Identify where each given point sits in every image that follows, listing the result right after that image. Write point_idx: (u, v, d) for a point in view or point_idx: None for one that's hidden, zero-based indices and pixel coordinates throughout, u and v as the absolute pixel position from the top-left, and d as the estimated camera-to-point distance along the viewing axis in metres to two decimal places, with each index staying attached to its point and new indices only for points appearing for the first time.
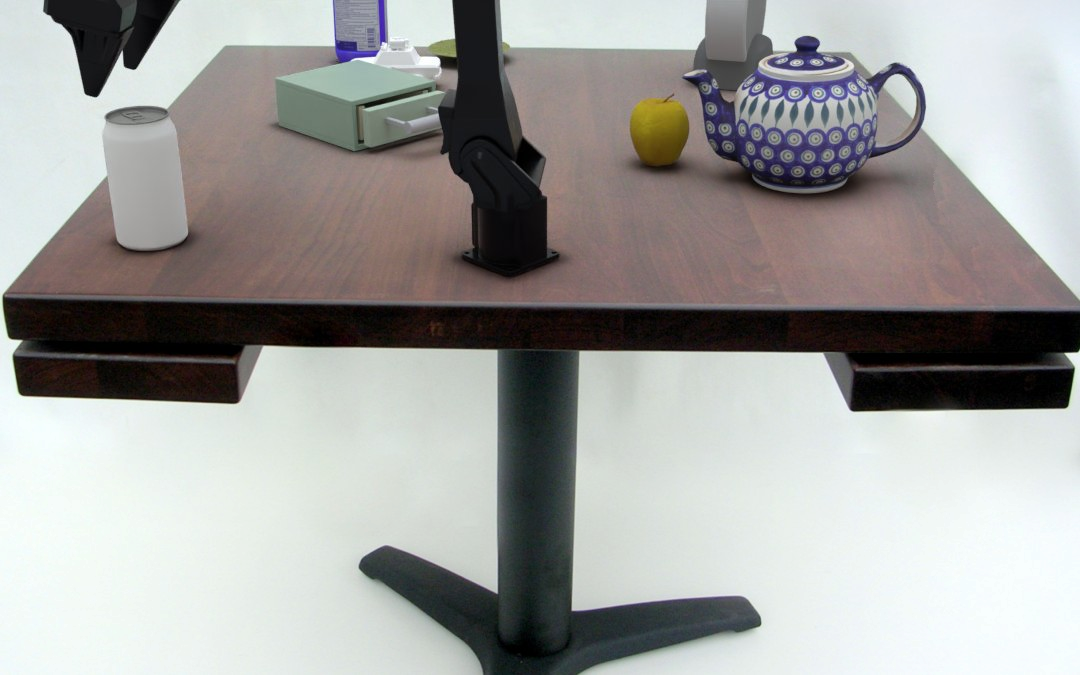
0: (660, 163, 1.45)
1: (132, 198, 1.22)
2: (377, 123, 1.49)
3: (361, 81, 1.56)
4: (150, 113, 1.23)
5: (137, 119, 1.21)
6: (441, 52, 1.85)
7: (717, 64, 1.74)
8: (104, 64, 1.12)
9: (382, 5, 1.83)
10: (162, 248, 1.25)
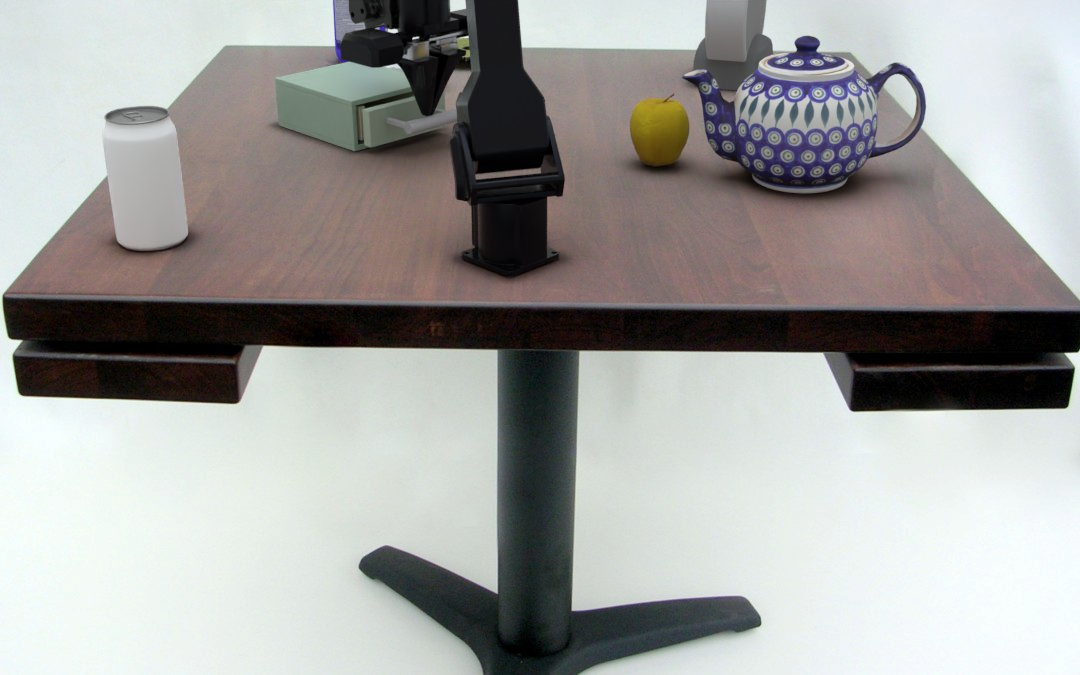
0: (660, 163, 1.45)
1: (132, 198, 1.22)
2: (377, 123, 1.49)
3: (361, 81, 1.56)
4: (150, 113, 1.23)
5: (137, 119, 1.21)
6: None
7: (717, 64, 1.74)
8: (423, 89, 1.47)
9: None
10: (162, 248, 1.25)
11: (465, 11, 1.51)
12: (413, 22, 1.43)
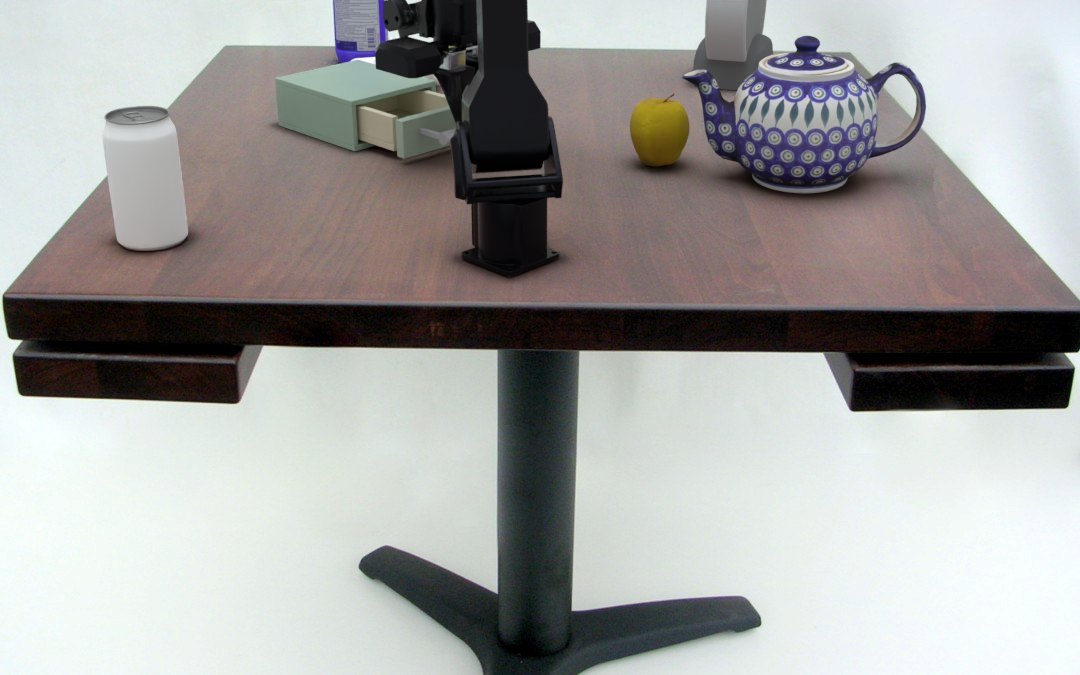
0: (660, 163, 1.45)
1: (132, 198, 1.22)
2: (410, 133, 1.46)
3: (361, 81, 1.56)
4: (150, 113, 1.23)
5: (137, 119, 1.21)
6: None
7: (717, 64, 1.74)
8: (459, 99, 1.43)
9: (382, 5, 1.83)
10: (162, 248, 1.25)
11: None
12: (449, 31, 1.39)
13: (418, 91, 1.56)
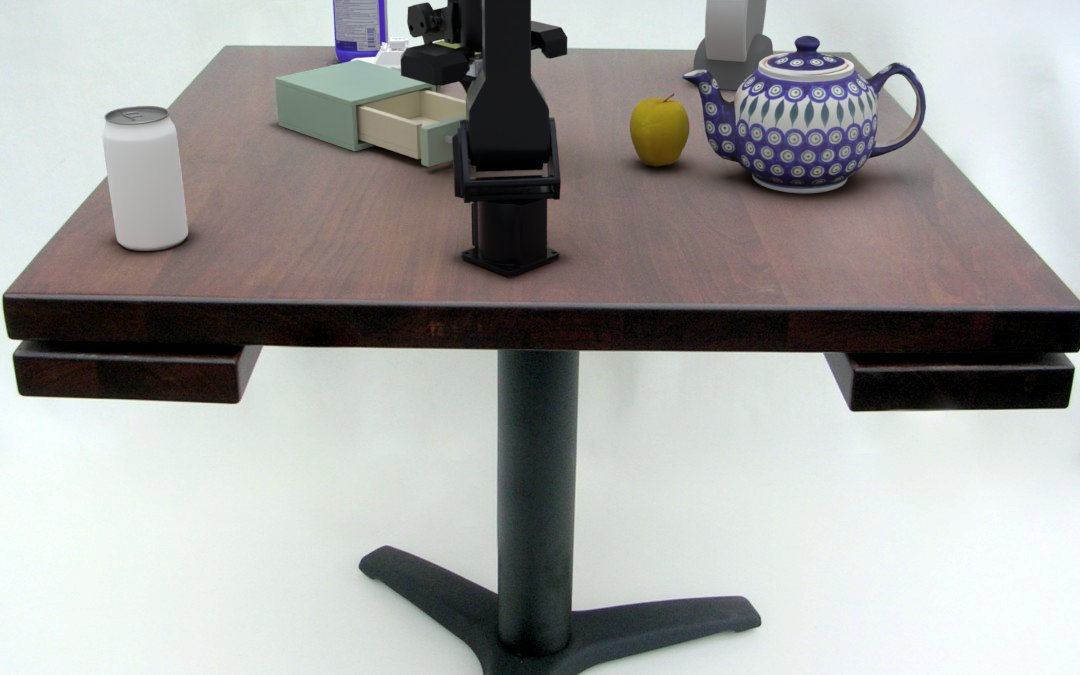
0: (660, 163, 1.45)
1: (132, 198, 1.22)
2: (435, 141, 1.43)
3: (361, 81, 1.56)
4: (150, 113, 1.23)
5: (137, 119, 1.21)
6: None
7: (717, 64, 1.74)
8: None
9: (382, 5, 1.83)
10: (162, 248, 1.25)
11: None
12: (476, 37, 1.37)
13: (441, 98, 1.54)
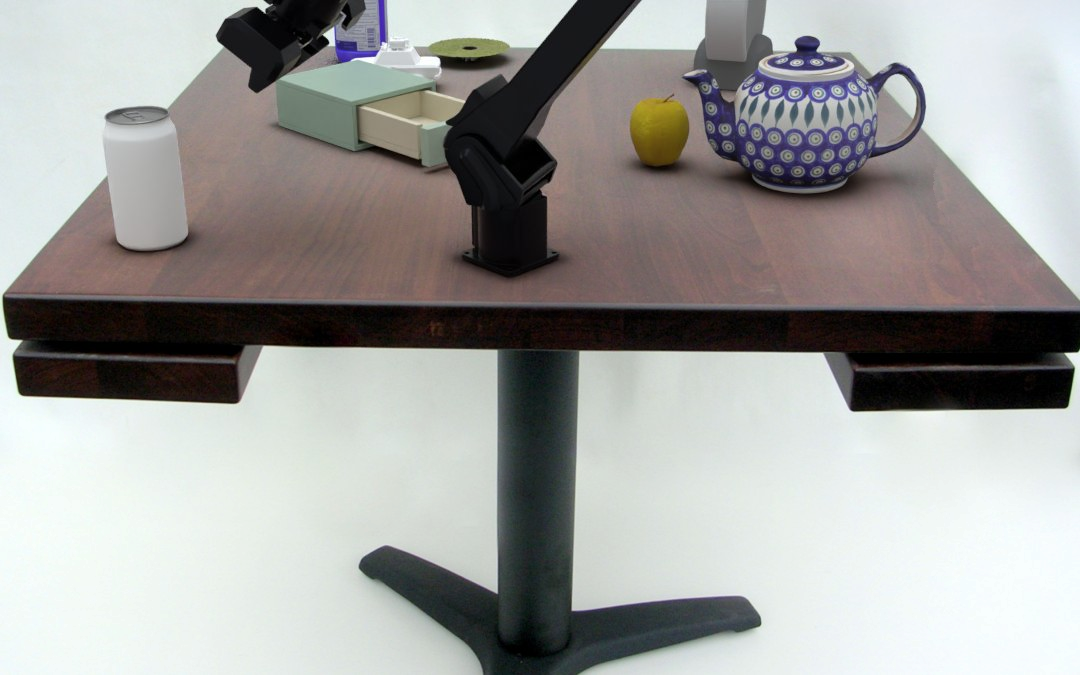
0: (660, 163, 1.45)
1: (132, 198, 1.22)
2: (436, 141, 1.43)
3: (361, 81, 1.56)
4: (150, 113, 1.23)
5: (137, 119, 1.21)
6: (441, 52, 1.85)
7: (717, 64, 1.74)
8: None
9: (382, 5, 1.83)
10: (162, 248, 1.25)
11: None
12: (307, 17, 1.18)
13: (442, 98, 1.54)
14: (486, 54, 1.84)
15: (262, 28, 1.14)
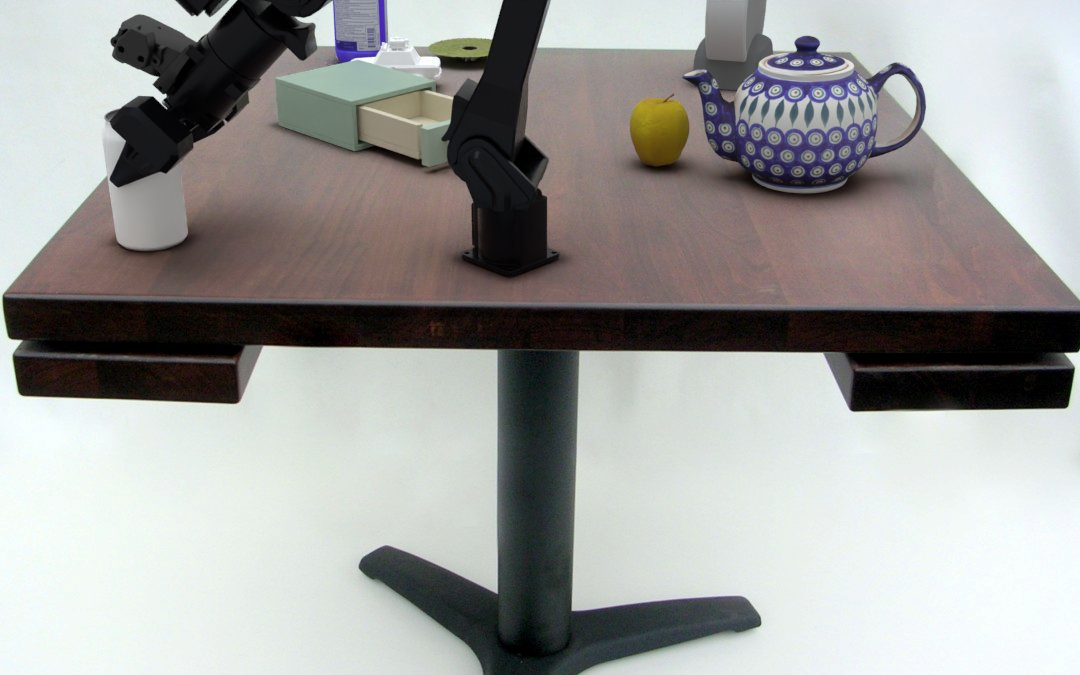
0: (660, 163, 1.45)
1: (132, 198, 1.22)
2: (436, 141, 1.43)
3: (361, 81, 1.56)
4: None
5: None
6: (441, 52, 1.85)
7: (717, 64, 1.74)
8: (141, 172, 1.19)
9: (382, 5, 1.83)
10: (162, 248, 1.25)
11: None
12: (200, 111, 1.18)
13: (442, 98, 1.54)
14: (486, 54, 1.84)
15: (159, 119, 1.13)
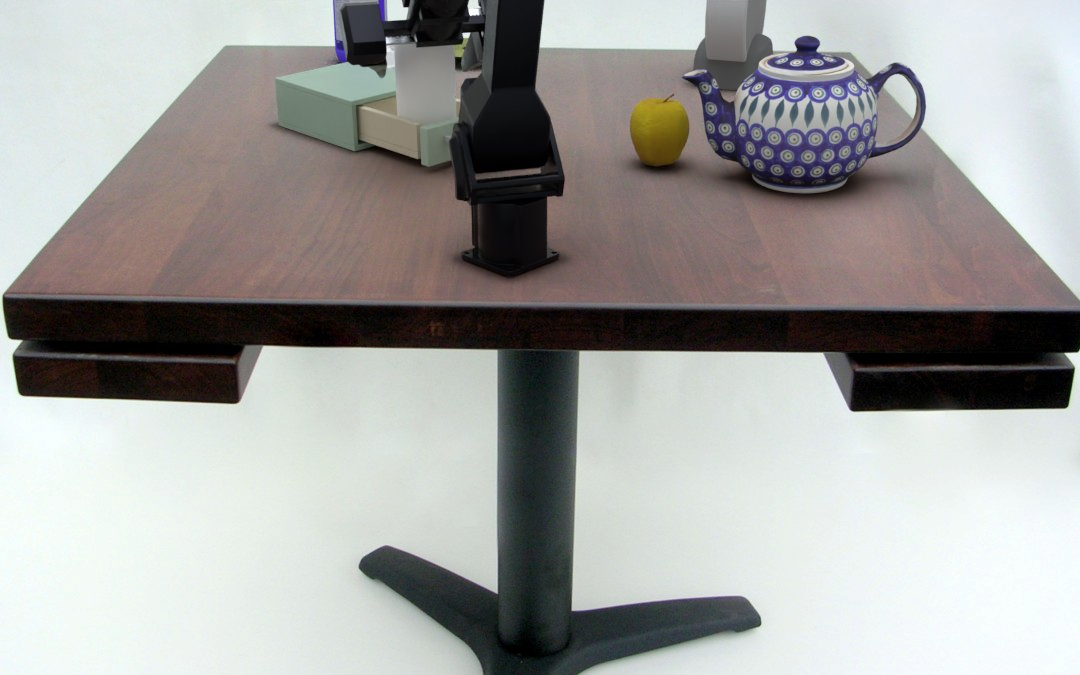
0: (660, 163, 1.45)
1: (396, 91, 1.48)
2: (435, 141, 1.43)
3: (361, 81, 1.56)
4: None
5: None
6: None
7: (717, 64, 1.74)
8: None
9: (382, 5, 1.83)
10: None
11: None
12: (413, 27, 1.38)
13: None
14: None
15: (359, 21, 1.38)
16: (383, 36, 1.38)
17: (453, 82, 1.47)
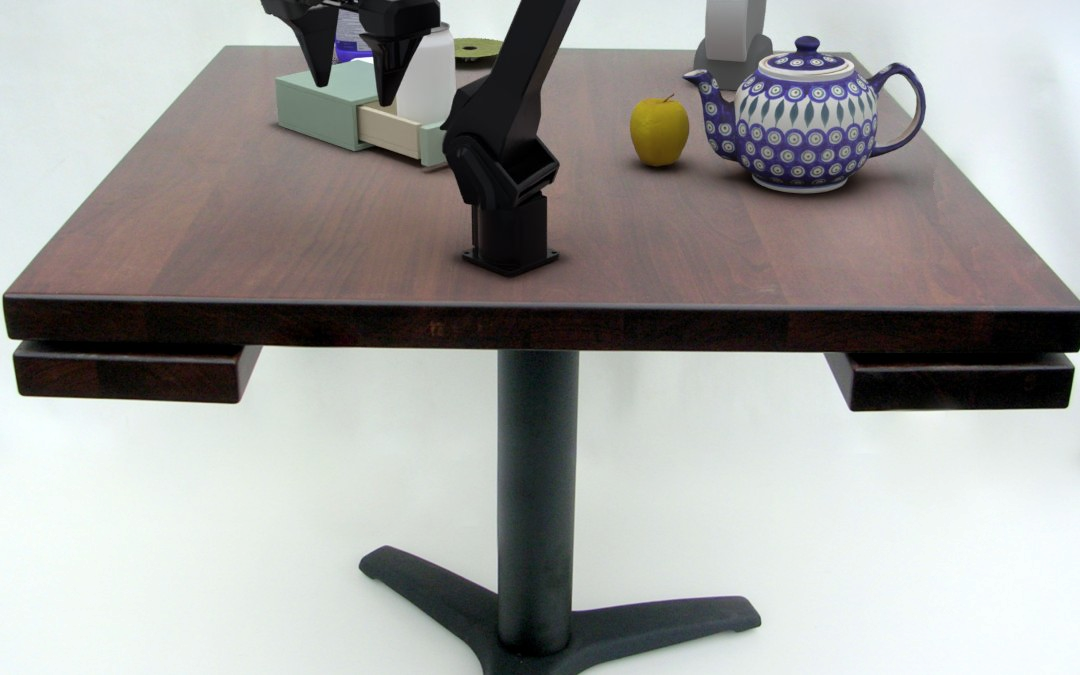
0: (660, 163, 1.45)
1: None
2: (435, 141, 1.43)
3: (361, 81, 1.56)
4: (438, 29, 1.46)
5: None
6: None
7: (717, 64, 1.74)
8: (403, 68, 1.19)
9: None
10: None
11: None
12: None
13: None
14: (486, 54, 1.84)
15: None
16: None
17: (453, 82, 1.47)
